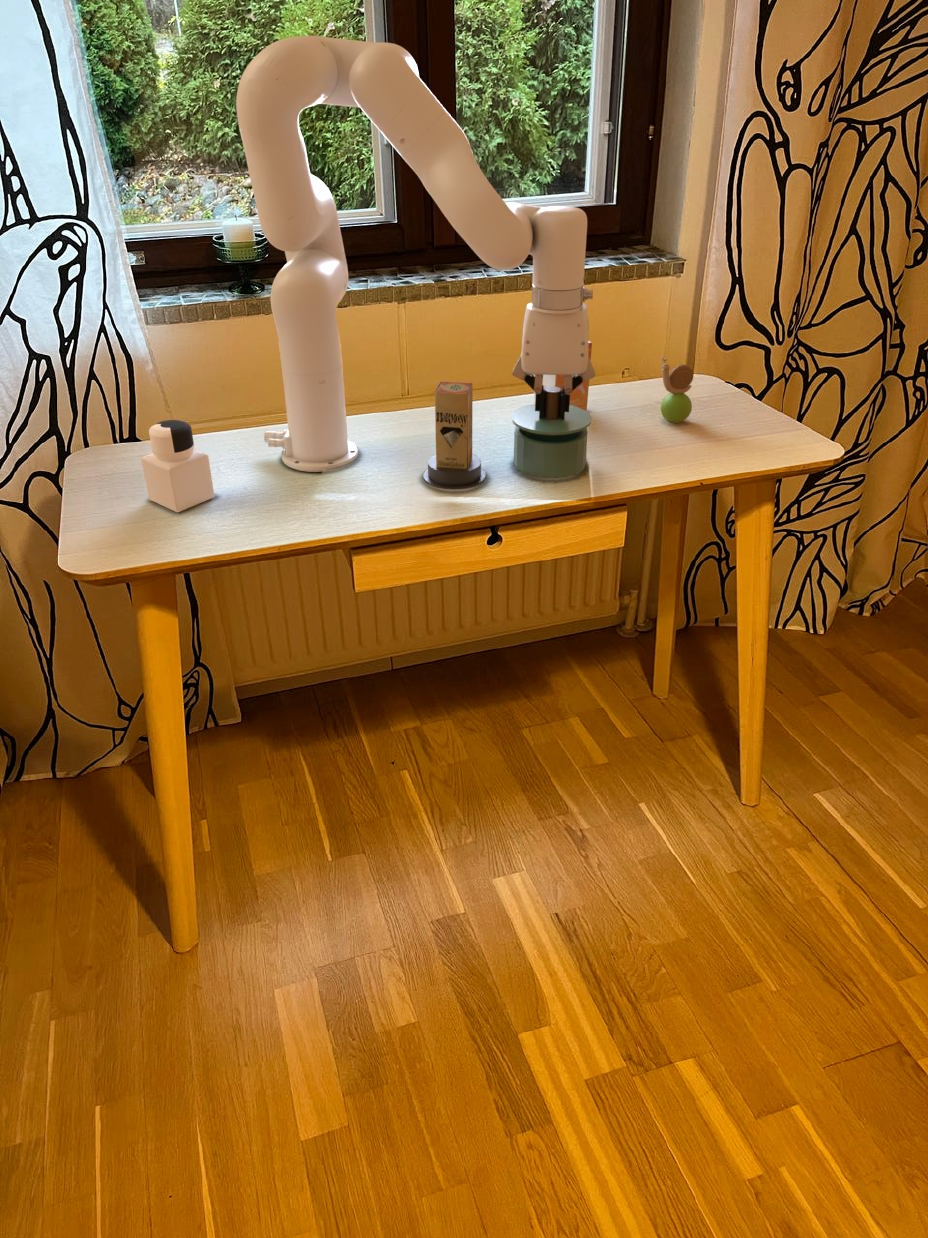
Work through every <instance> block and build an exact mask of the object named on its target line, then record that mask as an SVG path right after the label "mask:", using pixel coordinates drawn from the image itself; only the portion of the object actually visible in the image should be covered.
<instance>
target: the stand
mask: <svg viewBox="0 0 928 1238" xmlns="http://www.w3.org/2000/svg"><path fill="white" fill-rule="evenodd" d="M422 479H423V481H424V482H425V483H426V484H428V485H430V486H432V487H434V488H438V489H442V490H453V491H454V490H466V489H467V490H468V489H470V488H475V487H478V486H479V485H482V483H484V482H485V480H486V479H487V473H486V471H485V470H484V468H482V459H480V457H479V456H477V455H476V454H474V453H472V459H471V462H470V464H469V467H468V469H458V468H441V467H436V454H434V455H432V456H430V457H429V459H428V460H427V469H425V470H424V471H423V473H422Z"/></svg>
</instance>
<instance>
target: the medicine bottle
mask: <svg viewBox="0 0 928 1238" xmlns="http://www.w3.org/2000/svg"><path fill="white" fill-rule="evenodd" d="M148 435H149V440H150V446H151V451H152V453H149V454H147V455H144V456H142V457H141V463H142V469H143V474H144V479H145V484H146V490H147V495H148V499H149V500H150V501H152V502H154V503H156V504H158V505H160V506H162V507H164V508H166V509H168V510H171V511H173V512H175V513H180V512H183V511H185V510H187V509H190V508H192V507H194V506H197V505H199V504H202V503H205V502H206V501H209V500H211V499H213V498H215V490H214V485H213V484H214V483H213V477H212V471H211V465H210V464H211V463H210V458H209V455H208V454H207V453H205V452H202V451H200V450H197V449H195V443H194V436H193V430H192V426H191V424H189V422H186V421H183V420H179V419H165V420H162V421H159V422H157V423H155V424H153V425H152V426H150V427H149V430H148Z"/></svg>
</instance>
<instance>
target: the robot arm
mask: <svg viewBox="0 0 928 1238" xmlns="http://www.w3.org/2000/svg"><path fill="white" fill-rule="evenodd" d="M236 92H237V93H236V101H235V103H236V106H235V107H236V109H235V110H236V117H237V124H238V127H239V132H240V137H241V141H242V145H243V150H244V155H245V159H246V164H247V169H248V174H249V179H250V182H251V183H250V184H251V188H252V192H253V197H254V202H255V206H256V210H257V215H258V221H259V225H260V228H261V230H262V233H263V235H264V237H265V238H266V239H267V241H268V243H269V244H270V245H271V246H273V247H274V248H276V249H277V250H280V251H283V252H284V255H285V258H286V263H285V264H284V265H283V267H281V269H279V271H278V272H277V273H276V276H275V277H274V279H273V282H272V285H271V289H270V308H271V313H272V317H273V321H274V322H273V323H274V325H275V331H276V335H277V340H278V341H277V342H278V349H279V357H280V366H281V372H282V373H281V374H282V383H283V392H284V401H285V411H286V412H285V413H286V420H287V421H286V422H287V429H283V431H277V430H265V431H264V434H263V441H264V442H265V443H267V447H268V448H281V449H282V450H281V461H282V463H283V464H284V465H286V466H287V467H288V468H290V469H293V470H296V471H301V472H308V473H321V472H324V471H327V470H332V469H338V468H341V467H345V466H346V465H348V464H350V463H352V462H354V461H355V460H356V459H357V458H358V456H359V449H358V446H357V444H355V443H354V442H352V441H351V440H349V437H348V436H349V435H348V422H347V409H346V398H345V397H346V394H345V379H344V367H343V355H342V345H341V337H340V332H339V326H338V320H337V307H338V305H339V304H340V302H341V301H342V300H343V298H344V296H345V295H346V293H347V290H348V286H349V270H348V269H349V268H348V263H347V258H346V252H345V247H344V241H343V236H342V232H341V231H342V230H341V226H340V221H339V215H338V211H337V206H336V203H335V200H334V197H333V194H332V193H331V190H330V189H329V187H328V186H327V185H326V184H325V183H324V181H322V180H321V179H320V178H319V177H317V176H315V175H314V174H312V173H311V170H310V166H309V165H310V164H309V161H308V154H307V147H306V144H305V141H304V138H303V135H302V131H301V128H300V123H299V119H300V114H301V112H303V110H305V109H307V108H309V107H314V106H316V105H332V106H339V107H352V108H358V109H359V108H360V109H361V111H362V112H363V114H364V115H366V117H367V118H368V119H369V120H370V121H371V123H372V124H373V125H374V126H375V127H376V129H378V131H379V132H380V133H381V134H382V135H383V136H384V138H385V139H386V141H388V142H389V144H390V145H391V146H392V147H393V149H394V150H395V151H396V152H397V153H398V154H399V155H400V156H401V158H402V159H403V160H404V162H405V163H406V164H407V165H408V166H409V167H410V168H411V169H412V171H413V172H414V173H415V175H416V176H417V177H418V179H419V180H420V182H421V183H422V185H423V187H424V188H425V190H426V191H427V193H428V194H429V195H430V196H431V198H432V200H433V201H434V203H435V204H436V205H437V207H438V208H439V210H440V211H441V213H442V214H443V215H444V217H445V218H446V220H447V221H448V223H449V224H450V225H451V226H452V228H453V229H454V230H455V231H456V233H457V234H458V235H459V236H460V237H461V239H463V241H464V242H465V243H466V244H467V245H468V246H469V248H470V249H471V250H472V251H473V252H474V254H475V255H476V256H477V257H478V258H479V259H480V260H481V261H482V262H483V263H485V264H486V265H487V266H488V267H490V268H492V269H495V270H497V271H511V270H513V269H516V268H518V267H519V266H521V265H522V264H523V263H524V262H525V261H526V259H527V258H528V256H529V255H530V256H532V281H531V283H532V284H531V287H532V288H531V302H529V303H527V304H526V307H525V310H524V311H525V312H524V317H523V325H522V335H521V337H522V338H521V352H520V355H519V357H518V359H517V361H516V362H515V365H514V366H513V368H512V371H511V374H512V376H513V377H515V378H517V379H519V380H521V381H524V383H526V385H527V386H528V387H530V388H531V390H533V393H534V392H535V393H536V399H535V411H539V419H542V418H544V400H545V389H544V386H543V385H542V383H543V375H564V386H562V390H561V402H560V418H561V419H564V417H565V412H569V404H570V394H571V393H572V391H573V390H574V389H576V388H577V387H578V386H579V385H580V384H581V383H582V382H584V381H587V380H589V381H590V380H592V379H594V378H595V377H596V369H595V367H594V366H593V363H592V360H591V361H590V358H589V356H588V344H589V341H590V339H589V338H590V337H589V336H590V335H589V334H590V333H589V332H590V331H589V330H590V329H589V327H590V325H589V311H588V306H587V304H585V301H588V300H593V298H594V289H589V288H586V286H584V283H585V266H586V252H587V251H586V250H587V234H588V216H587V213H586V212H585V211H584V210H583V209H581V208H580V207H576V206H569V205H550V206H546V207H545V206H544V207H543V206H538V205H537V206H536V205H530V204H525V203H518V202H506V201H505V200H504V199H503V198H502V197H501V196H500V194H499V193H498V191H496V189H495V188H494V187H493V185H492V184H491V183H490V182H489V180H488V178H487V176H485V173H483V171H482V169H481V168H480V166H479V164H478V161H477V160H476V157H475V155H474V153H473V150H472V146H471V144H470V141H469V139H468V137H467V136H466V134H465V132H464V130H463V129H462V128H461V126H460V125H459V123H457V121H456V120H455V119H454V118H453V116H451V114H450V113H449V112H448V111H447V109H446V108H445V107H444V106H443V104H442V103H441V102H440V100H438V99H437V97H436V96H435V95H434V94H433V92H432V91H431V90H430V89H429V87H428V86H427V84H426V83H425V82H424V81H423V80H422V78H420V73H419V69H418V64H417V63H416V61H415V59H414V57H413V56H412V55H411V53H410V52H409V51H408V50H406V49H405V48H404V47H403V46H401V45H398V44H396V43H392V42H383V41H382V42H379V41H366V40H357V39H356V40H355V39H347V38H346V39H345V38H337V37H329V36H319V35H300V36H291V37H285V38H282V39H278V40H276V41H274V42H273V43H270V44H269V45H267V46H265V47H264V48H263V49H261V51H260V52H259V53H257V54H256V55H255V56H254V57H253V58H252V59H251V61H250V62H249V63H248V64H247V65H246V67H245V69H244V71H243V73H242V75H241V77H240V80H239V83H238V86H237V91H236ZM572 375H575V376H574V377H572ZM265 443H264V444H265Z"/></svg>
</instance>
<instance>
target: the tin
mask: <svg viewBox="0 0 928 1238" xmlns="http://www.w3.org/2000/svg"><path fill="white" fill-rule="evenodd" d="M513 435H514V437H513V438H514V439H513V466H514V468H515V469H516V470H517V471H519V472H520V473H522V474H524V475H528V476H530V477H535V478H540V479H562V478H563V479H564V478H569V477H573V476H575V475H578V474H579V473H581V472H583V471H584V469H585V468H586V463H587V462H586V461H587V448H588V428H586V429H584V430H582V431H580V432H576V433H572V434H565V435H543V434H536V433H531V432H528V431H525V430H522V429H520V428H518V427H517V426H516V425H514V433H513Z"/></svg>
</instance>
